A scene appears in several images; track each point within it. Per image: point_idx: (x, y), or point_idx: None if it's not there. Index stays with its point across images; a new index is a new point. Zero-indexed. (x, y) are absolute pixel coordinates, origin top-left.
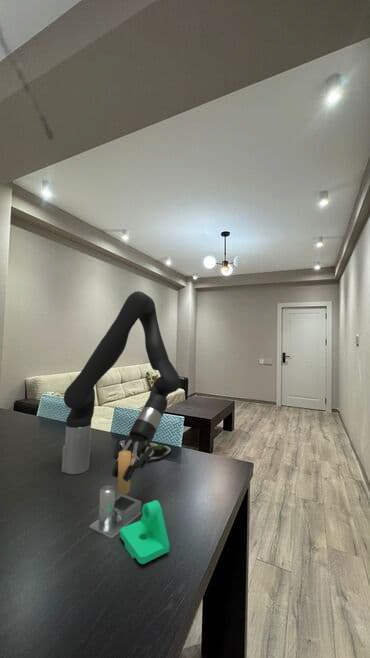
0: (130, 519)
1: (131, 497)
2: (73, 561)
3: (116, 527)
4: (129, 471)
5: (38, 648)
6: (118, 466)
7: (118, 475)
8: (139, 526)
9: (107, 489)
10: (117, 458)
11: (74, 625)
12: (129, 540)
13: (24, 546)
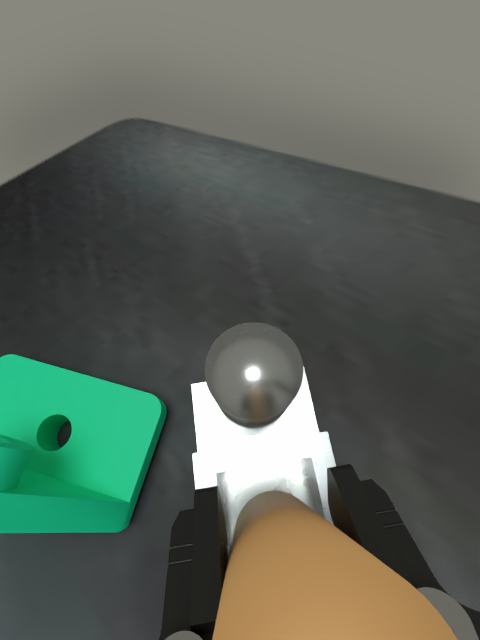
0: None
1: None
2: (207, 259)
3: (215, 428)
4: (188, 571)
5: (88, 141)
6: (325, 521)
7: (301, 506)
8: (104, 468)
9: (252, 365)
10: (470, 624)
11: (65, 188)
12: (87, 381)
13: (359, 207)
